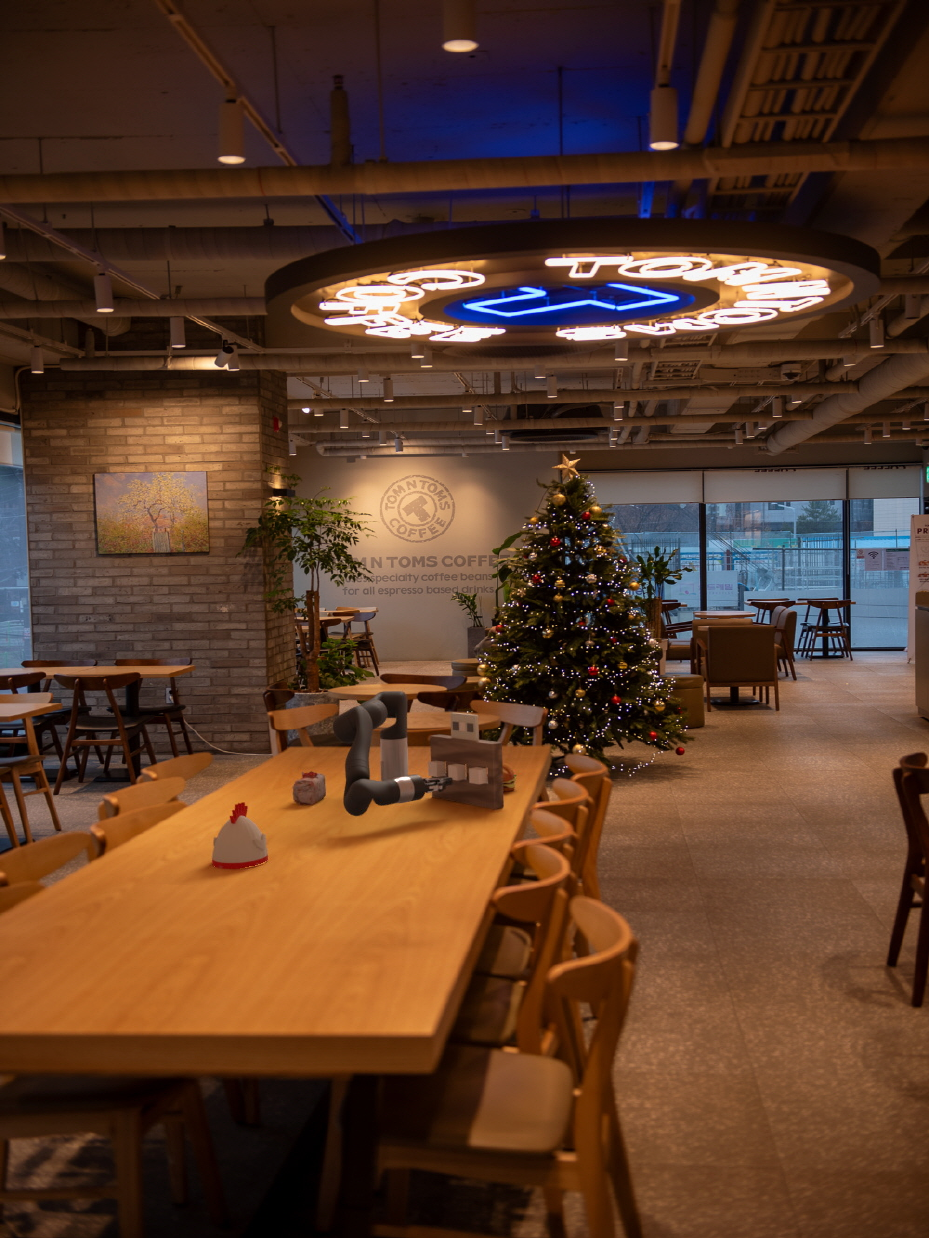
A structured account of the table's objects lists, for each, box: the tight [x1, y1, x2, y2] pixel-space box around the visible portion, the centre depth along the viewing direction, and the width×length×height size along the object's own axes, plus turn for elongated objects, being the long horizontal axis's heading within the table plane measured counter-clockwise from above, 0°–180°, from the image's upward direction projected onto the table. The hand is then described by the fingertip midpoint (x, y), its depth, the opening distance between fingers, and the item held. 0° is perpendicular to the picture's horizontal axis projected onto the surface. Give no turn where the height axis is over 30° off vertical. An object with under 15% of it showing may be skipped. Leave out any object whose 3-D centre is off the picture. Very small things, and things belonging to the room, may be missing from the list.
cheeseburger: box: [487, 762, 517, 792], centre depth 358 cm, size 10×11×10 cm
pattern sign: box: [450, 712, 480, 741], centre depth 339 cm, size 2×12×8 cm, turn 41°
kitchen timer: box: [211, 801, 269, 870], centre depth 272 cm, size 14×14×15 cm
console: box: [429, 734, 505, 810], centre depth 340 cm, size 4×30×20 cm, turn 41°
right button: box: [469, 767, 488, 784], centre depth 330 cm, size 4×4×4 cm
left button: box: [427, 760, 446, 777], centre depth 345 cm, size 4×4×4 cm
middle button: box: [448, 764, 467, 781], centre depth 337 cm, size 4×4×4 cm
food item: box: [292, 771, 327, 806], centre depth 348 cm, size 14×8×10 cm, turn 170°
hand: (450, 780), depth 323 cm, fingers closed
